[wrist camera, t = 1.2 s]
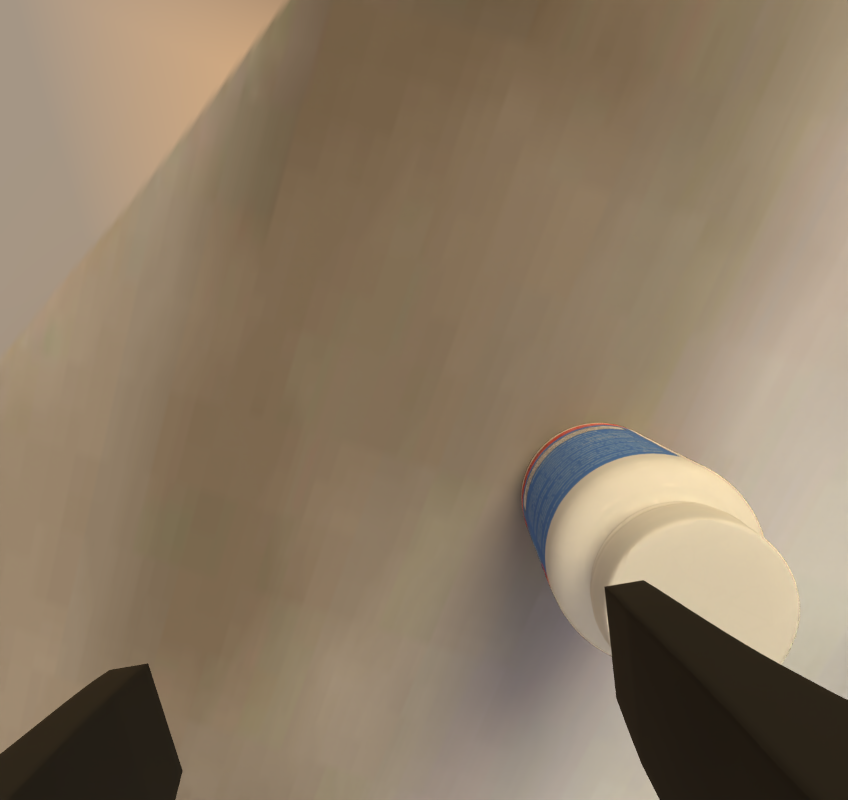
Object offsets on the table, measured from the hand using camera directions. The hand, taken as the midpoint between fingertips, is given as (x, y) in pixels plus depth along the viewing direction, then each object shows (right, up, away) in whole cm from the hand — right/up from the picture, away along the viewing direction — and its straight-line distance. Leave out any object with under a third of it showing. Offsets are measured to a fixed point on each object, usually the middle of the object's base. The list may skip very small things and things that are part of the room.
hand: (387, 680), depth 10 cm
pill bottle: (+7, +1, +13) cm, 15 cm away
